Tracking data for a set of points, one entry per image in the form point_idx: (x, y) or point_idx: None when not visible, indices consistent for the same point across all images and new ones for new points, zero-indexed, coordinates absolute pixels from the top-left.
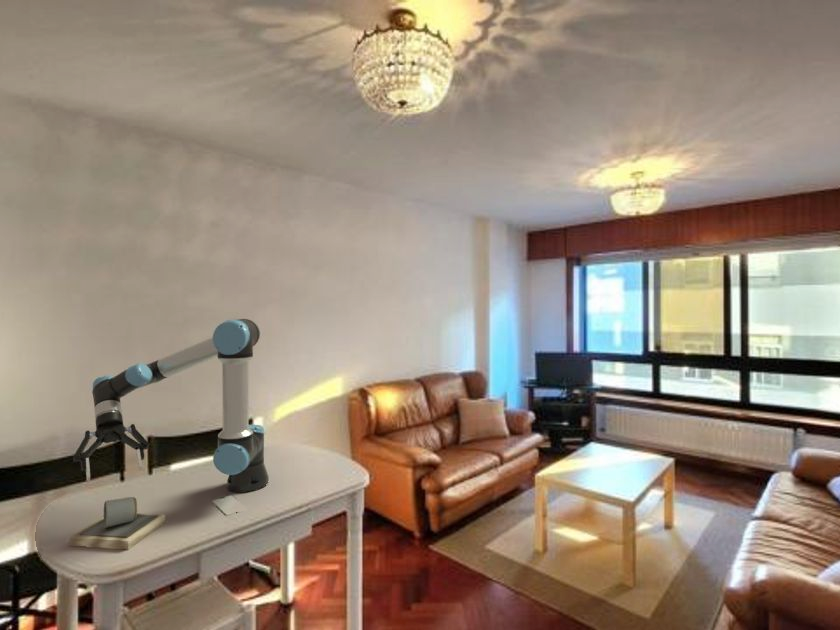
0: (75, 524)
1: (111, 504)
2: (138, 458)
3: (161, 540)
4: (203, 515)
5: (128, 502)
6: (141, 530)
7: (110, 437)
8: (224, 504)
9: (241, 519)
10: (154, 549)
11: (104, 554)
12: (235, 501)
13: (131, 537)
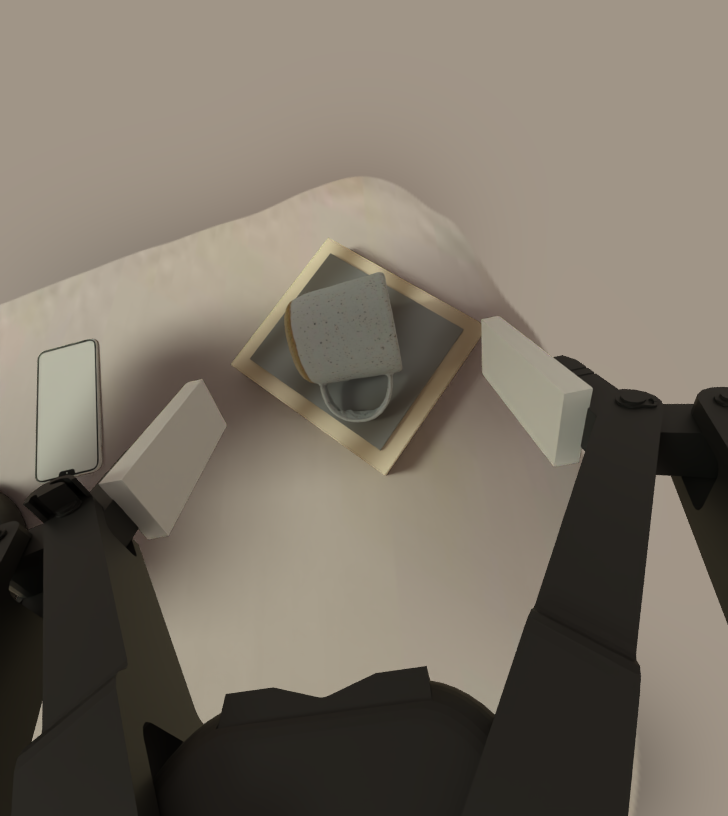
0: (500, 497)
1: (366, 281)
2: (171, 414)
3: (260, 269)
4: (145, 371)
5: (309, 295)
6: (296, 285)
7: (341, 734)
8: (77, 417)
9: (73, 301)
10: (278, 231)
11: (385, 253)
12: (45, 423)
13: (321, 254)
